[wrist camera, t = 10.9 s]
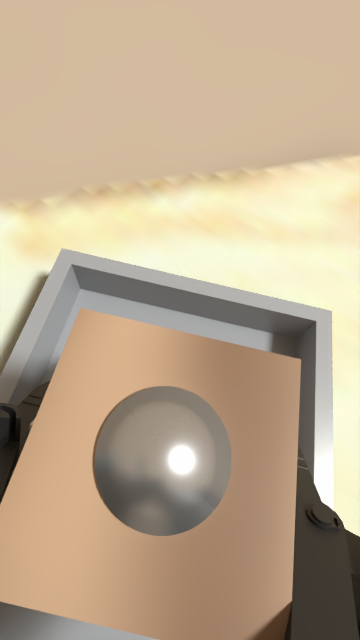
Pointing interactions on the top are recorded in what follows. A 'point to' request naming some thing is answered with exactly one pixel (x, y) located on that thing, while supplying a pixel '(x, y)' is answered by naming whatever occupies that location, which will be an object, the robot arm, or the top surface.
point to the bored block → (158, 486)
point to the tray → (178, 314)
